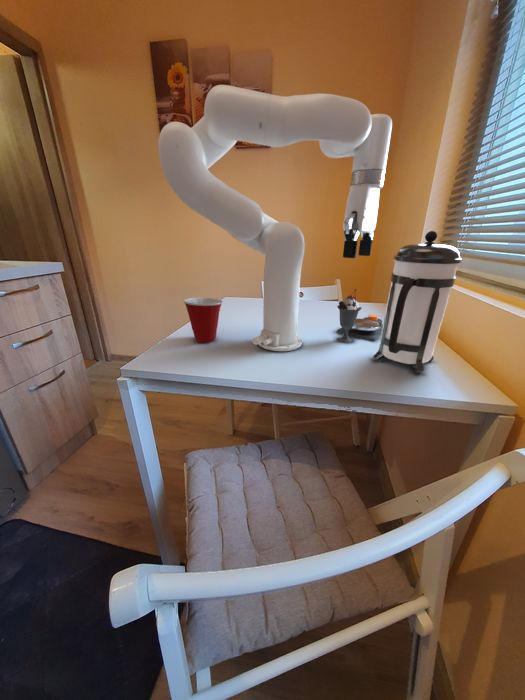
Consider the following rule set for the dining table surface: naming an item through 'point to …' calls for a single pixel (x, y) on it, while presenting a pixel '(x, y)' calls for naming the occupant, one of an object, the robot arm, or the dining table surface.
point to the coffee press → (417, 301)
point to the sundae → (348, 316)
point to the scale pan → (366, 325)
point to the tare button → (373, 317)
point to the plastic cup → (203, 317)
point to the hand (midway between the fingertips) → (357, 256)
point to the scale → (365, 332)
